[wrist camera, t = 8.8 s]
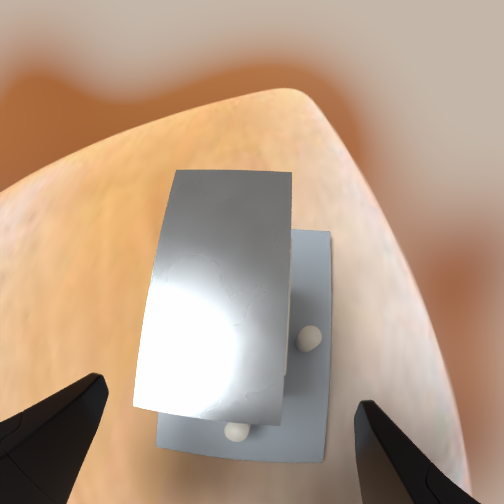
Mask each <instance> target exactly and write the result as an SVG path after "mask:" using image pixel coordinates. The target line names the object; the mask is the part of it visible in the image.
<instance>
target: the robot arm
mask: <svg viewBox="0 0 504 504" xmlns="http://www.w3.org/2000/svg"><path fill="white" fill-rule="evenodd" d="M108 395H109V391H108V387H107V385H106V382H105V379H104V377H103V375H101V374H98V373H91V374H89V375H87V376H85V377H83V378H82V379H80V380H78V381H76V382H75V383H73V384H71V385H69V386H67V387H66V388H64V389H62V390H60V391H58V392H57V393H55V394H53V395H51V396H49V397H48V398H46V399H44V400H42V401H40V402H39V403H37V404H35V405H33V406H31V407H29V408H28V409H26V410H24V411H23V412H20V413H18V414H16V415H14V416H12V417H10V418H8V419H6V420H4V421H2V422H0V504H67V501H68V498H69V496H70V493H71V491H72V488H73V486H74V483H75V481H76V478H77V476H78V473H79V471H80V468H81V466H82V464H83V461H84V459H85V457H86V454H87V452H88V450H89V447H90V445H91V443H92V440H93V438H94V436H95V434H96V431H97V429H98V426H99V423H100V420H101V417H102V414H103V411H104V407H105V404H106V401H107V398H108ZM354 430H355V451H356V463H357V469H358V475H359V482H360V488H361V495H362V502H363V504H481V503H479V502H477V501H476V500H475V499H474V498H472V497H471V496H470V495H468V494H467V493H466V492H464V491H463V490H462V489H461V488H459V487H458V486H457V485H456V484H454V483H453V482H452V481H451V480H450V479H449V478H447V477H446V476H445V475H444V474H443V473H442V472H441V471H440V470H439V469H438V468H437V467H436V466H435V465H434V464H433V463H432V462H431V461H430V460H429V459H428V458H427V457H426V456H425V455H424V454H423V453H422V451H421V450H420V449H419V448H418V447H417V446H416V445H415V444H414V443H413V442H412V441H411V440H410V439H409V438H408V437H407V436H406V435H405V434H404V433H403V432H402V431H401V429H400V428H399V427H398V426H397V425H396V424H395V423H394V422H393V421H392V420H391V419H390V418H389V417H388V416H387V415H386V414H385V413H384V412H383V410H382V409H381V408H380V407H379V406H378V405H377V404H376V403H375V402H374V401H373V400H362V401H361V402H360V403H359V406H358V408H357V411H356V414H355V417H354ZM430 462H431V463H430Z"/></svg>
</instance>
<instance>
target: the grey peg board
mask: <svg viewBox="0 0 504 504" xmlns="http://www.w3.org/2000/svg"><path fill="white" fill-rule="evenodd" d="M291 238H292V264H291V291H290V314H289V334H288V351H287V367H286V375H284V388H283V401H282V414H281V426H270V425H254V424H242V423H232V422H223V421H214V420H207V419H200V418H193V417H187V416H181V415H175V414H169V413H164V412H159V411H158V421H157V435H156V447H160V448H165V449H170V450H175V451H180V452H186V453H191V454H198V455H204V456H211V457H218V458H227V459H236V460H247V461H261V462H282V463H322V462H323V456H324V446H325V435H326V424H327V411H328V396H329V378H330V355H331V245H330V231H314V230H296V229H291Z"/></svg>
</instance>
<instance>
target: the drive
mask: <svg viewBox="0 0 504 504" xmlns="http://www.w3.org/2000/svg"><path fill="white" fill-rule="evenodd" d="M291 207H292V172H274V171H248V170H176V173H175V177H174V180H173V184H172V188H171V192H170V196H169V200H168V204H167V208H166V212H165V216H164V220H163V224H162V229H161V233H160V238H159V242H158V247H157V252H156V256H155V261H154V266H153V271H152V276H151V282H150V287H149V293H148V298H147V304H146V310H145V316H144V322H143V329H142V336H141V343H140V350H139V358H138V366H137V374H136V383H135V393H134V403H133V406H136V407H140V408H145V409H149V410H154V411H159V412H164V413H169V414H175V415H181V416H187V417H193V418H200V419H207V420H214V421H223V422H232V423H242V424H254V425H270V426H281V414H282V401H283V388H284V375H286V367H287V351H288V334H289V314H290V291H291V264H292V238H291Z"/></svg>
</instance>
